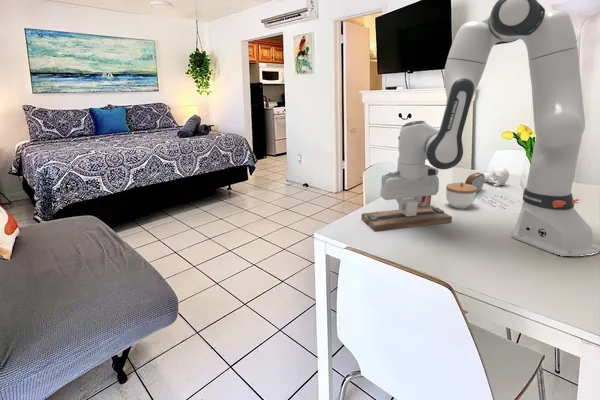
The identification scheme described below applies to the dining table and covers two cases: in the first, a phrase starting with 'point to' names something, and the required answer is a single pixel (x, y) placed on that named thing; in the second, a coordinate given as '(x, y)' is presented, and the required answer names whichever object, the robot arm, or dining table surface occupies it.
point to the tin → (476, 180)
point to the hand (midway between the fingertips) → (408, 209)
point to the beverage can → (424, 201)
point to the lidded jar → (460, 194)
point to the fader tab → (409, 207)
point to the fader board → (405, 218)
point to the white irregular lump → (497, 176)
